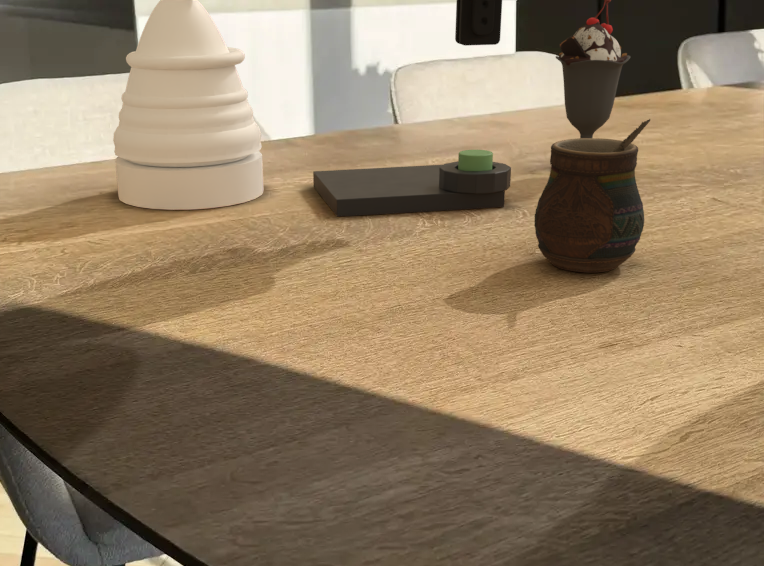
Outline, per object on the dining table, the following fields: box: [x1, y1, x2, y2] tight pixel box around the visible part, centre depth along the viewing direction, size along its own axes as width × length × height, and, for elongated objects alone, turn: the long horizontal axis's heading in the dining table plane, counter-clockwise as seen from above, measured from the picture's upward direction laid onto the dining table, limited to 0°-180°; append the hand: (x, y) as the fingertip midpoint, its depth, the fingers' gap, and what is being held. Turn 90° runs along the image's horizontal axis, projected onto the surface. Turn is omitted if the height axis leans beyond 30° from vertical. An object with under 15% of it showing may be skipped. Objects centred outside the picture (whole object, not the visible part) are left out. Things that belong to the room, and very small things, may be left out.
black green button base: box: [312, 161, 512, 218], centre depth 95 cm, size 15×13×3 cm
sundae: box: [555, 0, 631, 138], centre depth 102 cm, size 7×7×15 cm
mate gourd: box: [534, 118, 651, 274], centre depth 74 cm, size 7×8×10 cm
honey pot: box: [112, 0, 265, 211], centre depth 95 cm, size 13×13×18 cm
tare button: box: [457, 149, 494, 171], centre depth 92 cm, size 3×3×2 cm
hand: (477, 43), depth 88 cm, fingers closed
